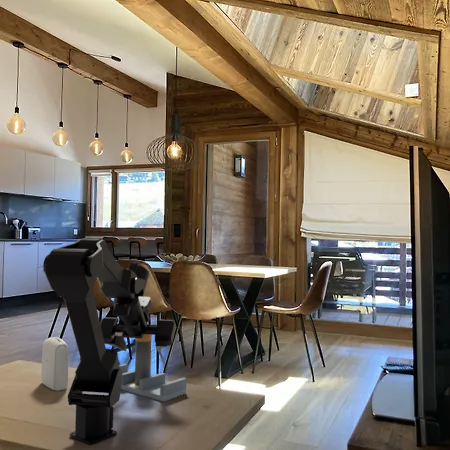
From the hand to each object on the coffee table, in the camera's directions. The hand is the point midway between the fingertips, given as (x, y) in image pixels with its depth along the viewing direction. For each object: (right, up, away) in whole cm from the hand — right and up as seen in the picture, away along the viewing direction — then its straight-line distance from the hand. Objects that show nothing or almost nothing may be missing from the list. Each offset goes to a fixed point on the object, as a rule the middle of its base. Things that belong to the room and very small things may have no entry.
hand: (143, 350), depth 121 cm
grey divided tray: (0, -10, 0) cm, 10 cm away
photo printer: (-23, -10, +1) cm, 25 cm away
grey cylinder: (0, -9, 0) cm, 8 cm away
